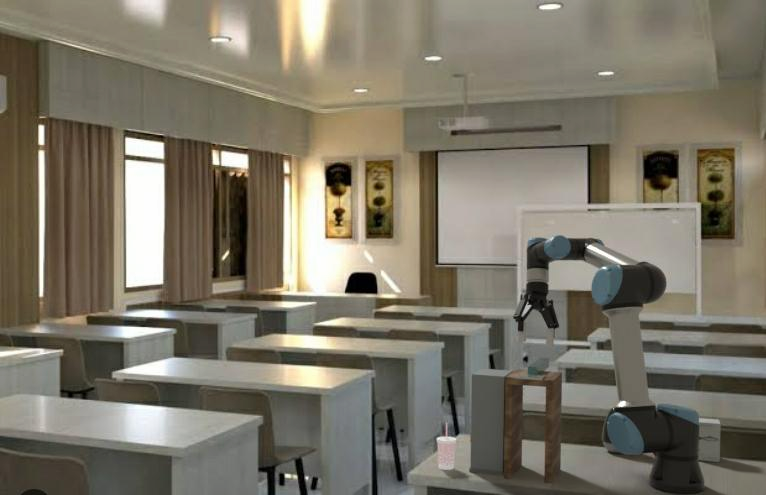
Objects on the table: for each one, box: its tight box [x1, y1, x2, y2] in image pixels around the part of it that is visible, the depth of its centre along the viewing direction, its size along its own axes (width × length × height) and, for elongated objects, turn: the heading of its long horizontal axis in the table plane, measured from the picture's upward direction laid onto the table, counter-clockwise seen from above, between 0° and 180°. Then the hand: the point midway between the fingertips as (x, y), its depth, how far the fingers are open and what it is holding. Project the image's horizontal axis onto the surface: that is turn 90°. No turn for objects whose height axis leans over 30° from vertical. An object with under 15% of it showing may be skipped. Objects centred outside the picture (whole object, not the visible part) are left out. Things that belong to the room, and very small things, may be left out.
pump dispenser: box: [601, 406, 622, 454], centre depth 290 cm, size 10×10×15 cm
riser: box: [503, 368, 563, 484], centre depth 262 cm, size 14×16×30 cm
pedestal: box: [468, 368, 514, 476], centre depth 268 cm, size 11×13×30 cm
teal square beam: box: [515, 357, 550, 380], centre depth 265 cm, size 8×26×3 cm, turn 159°
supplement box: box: [698, 417, 722, 463], centre depth 282 cm, size 7×7×13 cm
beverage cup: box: [436, 422, 457, 471], centre depth 268 cm, size 6×6×14 cm
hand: (536, 344), depth 291 cm, fingers open, 13 cm apart
